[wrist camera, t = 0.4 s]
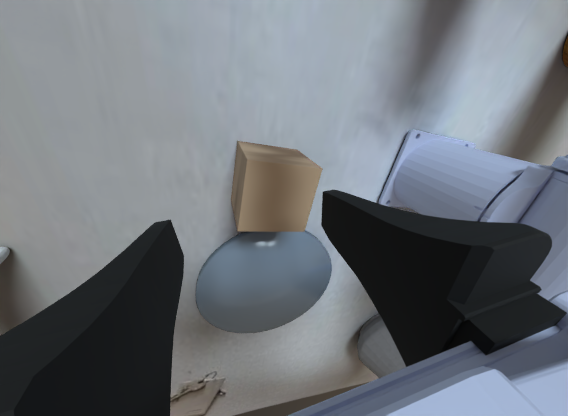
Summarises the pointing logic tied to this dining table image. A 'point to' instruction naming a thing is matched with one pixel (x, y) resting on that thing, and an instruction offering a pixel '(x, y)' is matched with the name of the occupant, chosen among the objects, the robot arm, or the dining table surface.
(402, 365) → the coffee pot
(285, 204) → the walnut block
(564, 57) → the disposable coffee cup
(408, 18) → the dining table surface
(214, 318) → the slate plate
